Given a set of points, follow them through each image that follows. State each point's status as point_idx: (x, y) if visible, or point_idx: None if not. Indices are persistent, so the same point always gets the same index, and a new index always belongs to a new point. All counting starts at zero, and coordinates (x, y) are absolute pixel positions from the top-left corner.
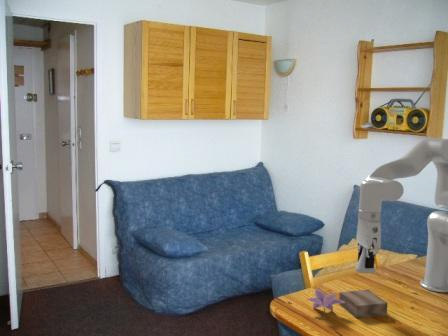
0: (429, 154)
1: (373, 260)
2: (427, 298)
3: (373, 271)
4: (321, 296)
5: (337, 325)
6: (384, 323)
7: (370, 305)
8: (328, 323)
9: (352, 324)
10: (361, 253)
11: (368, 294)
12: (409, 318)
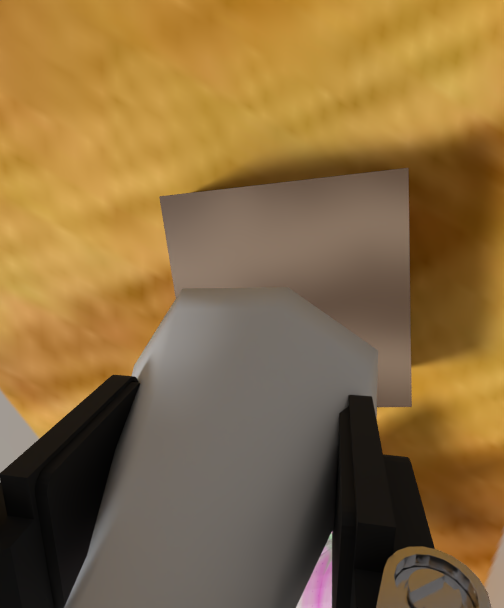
0: None
1: (384, 489)
2: None
3: (371, 371)
4: (320, 601)
5: (447, 493)
6: (493, 242)
7: (409, 311)
8: None
9: (456, 421)
10: (70, 572)
11: (244, 240)
12: (471, 23)
